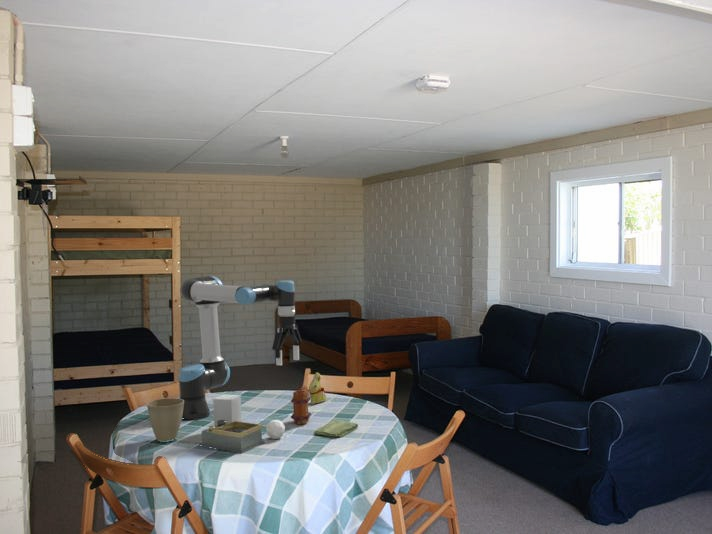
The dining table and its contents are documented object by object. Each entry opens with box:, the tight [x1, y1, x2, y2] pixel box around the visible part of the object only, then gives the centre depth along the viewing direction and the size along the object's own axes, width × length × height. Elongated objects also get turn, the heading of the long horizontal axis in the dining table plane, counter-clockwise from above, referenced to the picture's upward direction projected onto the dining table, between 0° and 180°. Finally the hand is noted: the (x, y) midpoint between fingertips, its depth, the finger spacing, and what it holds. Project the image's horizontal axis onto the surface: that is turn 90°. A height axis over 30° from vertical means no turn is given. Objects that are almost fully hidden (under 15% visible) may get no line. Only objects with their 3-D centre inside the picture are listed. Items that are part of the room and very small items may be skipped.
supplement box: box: [212, 394, 243, 426], centre depth 293 cm, size 9×9×15 cm
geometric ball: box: [265, 419, 286, 440], centre depth 281 cm, size 8×8×8 cm
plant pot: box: [146, 397, 184, 441], centre depth 282 cm, size 15×15×16 cm
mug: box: [290, 385, 312, 425], centre depth 305 cm, size 15×8×15 cm, turn 168°
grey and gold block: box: [198, 420, 266, 454], centre depth 274 cm, size 22×15×8 cm
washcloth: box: [313, 419, 359, 438], centre depth 289 cm, size 13×18×3 cm
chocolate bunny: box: [308, 372, 327, 405], centre depth 339 cm, size 7×11×15 cm, turn 139°
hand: (287, 362), depth 305 cm, fingers open, 13 cm apart
